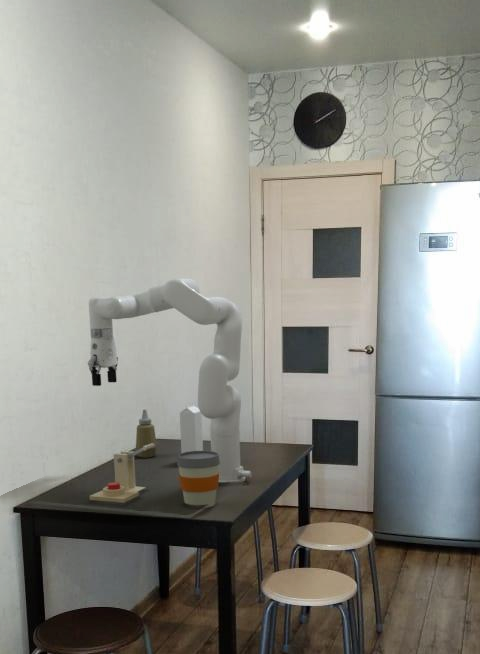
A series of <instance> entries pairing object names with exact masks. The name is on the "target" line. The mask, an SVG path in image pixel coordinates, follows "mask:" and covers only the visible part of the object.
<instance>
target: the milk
mask: <svg viewBox="0 0 480 654" xmlns="http://www.w3.org/2000/svg"><path fill="white" fill-rule="evenodd" d="M179 425H180V426H179V430H180V450H181V452H180V454H181V453H184V452H190V451H204V442H203V441H204V440H203V439H204V438H203V437H204V435H203V415H202V413H201V412H200V410H199V407H198V406H195V401H191V402H188V403H187V404H186V408H184V409H183V410H182V411H180V412H179Z"/></svg>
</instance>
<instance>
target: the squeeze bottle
mask: <svg viewBox="0 0 480 654" xmlns="http://www.w3.org/2000/svg"><path fill="white" fill-rule="evenodd" d="M151 443H154V445H155V446H154V448H151V449H148V450H146V451H143V452H141V453H139V454H137V455H138V457H139V458H144V459H145V458H146V459H147V458H148V459H149V458H153V457H155V455H156V452H157V449H158V444H157V437H156V429H155V425H154V424H152V418H149V415H148V411H147V409H143V410H142V415H141V418H140V419H138V425H137V426H136V437H135V449H136V450H135V451H137V450H139V449H141V448H143V446H146V445H148V444H151Z"/></svg>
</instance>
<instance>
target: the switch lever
mask: <svg viewBox="0 0 480 654" xmlns="http://www.w3.org/2000/svg"><path fill="white" fill-rule="evenodd" d="M154 446H155V445H154V443H151V444H148V445H146V446H143V448H141V449H139V450H135V451H132V452H133V453H131V454H129V455H128V453H126V454H127V456H128V461H129V460H131V459H130V457H132V456H134V457H135V456H136V455H138V454H139V453H141V452H143V451H146V450H148V449H151V448H154Z"/></svg>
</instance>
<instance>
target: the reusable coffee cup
mask: <svg viewBox="0 0 480 654" xmlns="http://www.w3.org/2000/svg"><path fill="white" fill-rule="evenodd" d="M176 462H177V463H176V466H177V467H178V480H179V485H180V487H179V488H180V490H181V491H182V495H183V496H182V497H183V502H184V504H186V505H189V506H203V507H202V509H207V508H211V507H214V506H215V505H216V499H217V489H218V488H219V483H220V482H219V472H218V467H219V464H220V460H219V454H218V453H217V452H213V451H211V450H203V451H190V452H184V453H181V452H180V453H179V454H178V455H177V461H176Z"/></svg>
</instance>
